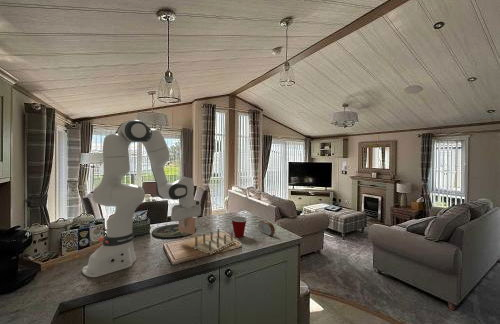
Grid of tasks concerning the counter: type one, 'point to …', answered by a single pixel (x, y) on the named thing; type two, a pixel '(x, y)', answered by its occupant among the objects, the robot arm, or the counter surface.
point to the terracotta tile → (188, 225)
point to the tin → (266, 228)
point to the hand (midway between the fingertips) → (186, 225)
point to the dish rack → (213, 243)
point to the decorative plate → (169, 232)
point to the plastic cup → (239, 225)
